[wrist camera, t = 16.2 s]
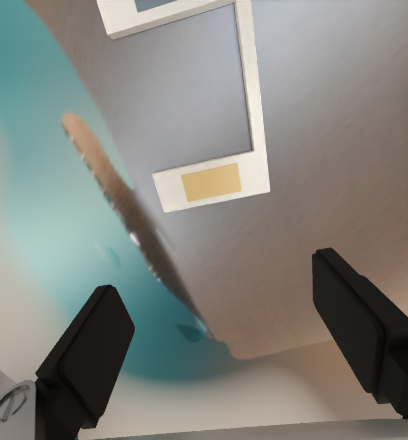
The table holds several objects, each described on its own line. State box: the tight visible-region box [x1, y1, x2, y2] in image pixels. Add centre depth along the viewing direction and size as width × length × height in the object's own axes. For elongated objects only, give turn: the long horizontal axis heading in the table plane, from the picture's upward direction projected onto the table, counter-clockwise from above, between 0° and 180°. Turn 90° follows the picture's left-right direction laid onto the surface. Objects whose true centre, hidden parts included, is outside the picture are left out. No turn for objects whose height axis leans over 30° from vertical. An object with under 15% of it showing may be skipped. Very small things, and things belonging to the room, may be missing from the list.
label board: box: [97, 0, 270, 213], centre depth 26 cm, size 16×28×2 cm, turn 13°
